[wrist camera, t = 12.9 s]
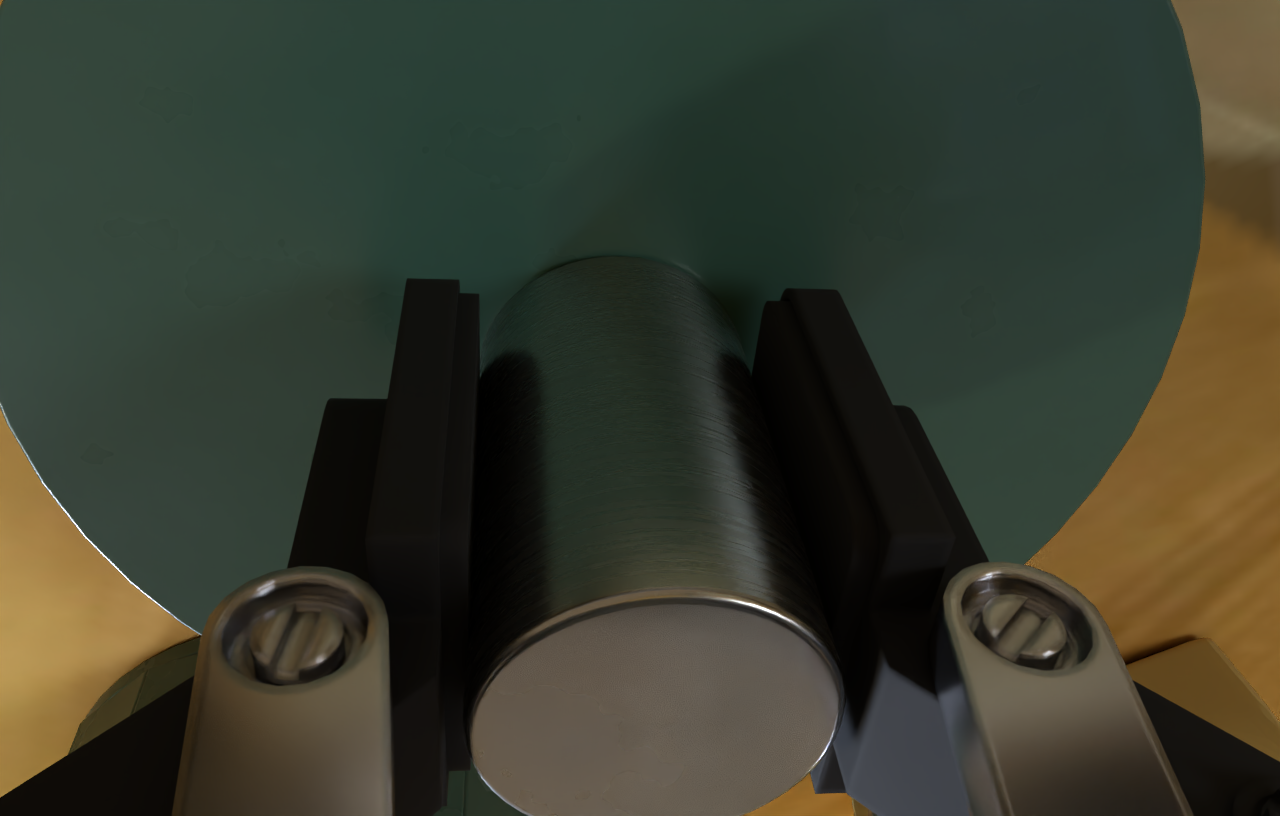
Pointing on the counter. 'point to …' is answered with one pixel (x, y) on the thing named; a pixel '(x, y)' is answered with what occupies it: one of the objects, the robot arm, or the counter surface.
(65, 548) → the counter surface
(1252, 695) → the cheese
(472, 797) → the pot
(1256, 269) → the counter surface
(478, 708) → the lid
